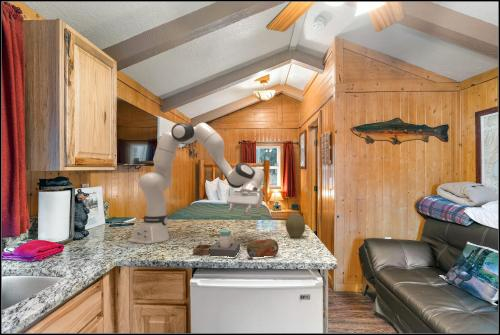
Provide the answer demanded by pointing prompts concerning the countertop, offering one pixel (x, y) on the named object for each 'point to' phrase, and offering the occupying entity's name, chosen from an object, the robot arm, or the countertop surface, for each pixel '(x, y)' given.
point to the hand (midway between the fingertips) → (237, 212)
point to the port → (225, 250)
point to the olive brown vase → (295, 225)
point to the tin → (262, 248)
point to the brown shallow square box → (202, 249)
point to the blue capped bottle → (225, 238)
